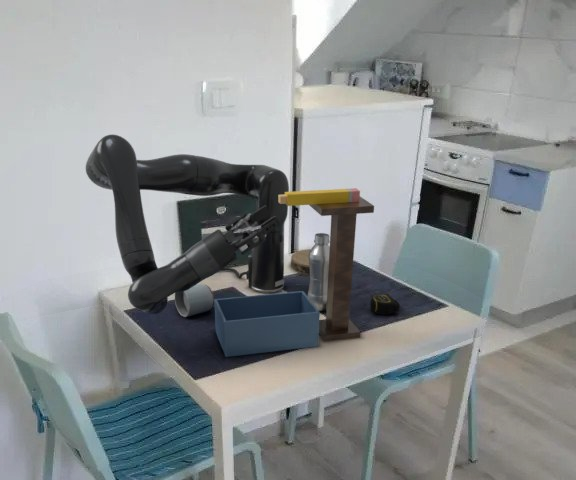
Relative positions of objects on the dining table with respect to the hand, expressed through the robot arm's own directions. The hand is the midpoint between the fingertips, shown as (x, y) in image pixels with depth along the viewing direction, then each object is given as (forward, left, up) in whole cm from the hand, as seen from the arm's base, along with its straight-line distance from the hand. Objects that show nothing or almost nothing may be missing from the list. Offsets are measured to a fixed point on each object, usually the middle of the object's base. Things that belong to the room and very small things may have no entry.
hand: (273, 214), depth 134 cm
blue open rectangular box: (-1, -1, -30) cm, 30 cm away
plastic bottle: (+3, +22, -30) cm, 37 cm away
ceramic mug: (-26, +5, -30) cm, 40 cm away
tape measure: (+19, +29, -30) cm, 46 cm away
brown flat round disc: (-10, +51, -30) cm, 60 cm away
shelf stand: (+12, +10, -30) cm, 34 cm away
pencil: (+8, +7, +2) cm, 11 cm away
